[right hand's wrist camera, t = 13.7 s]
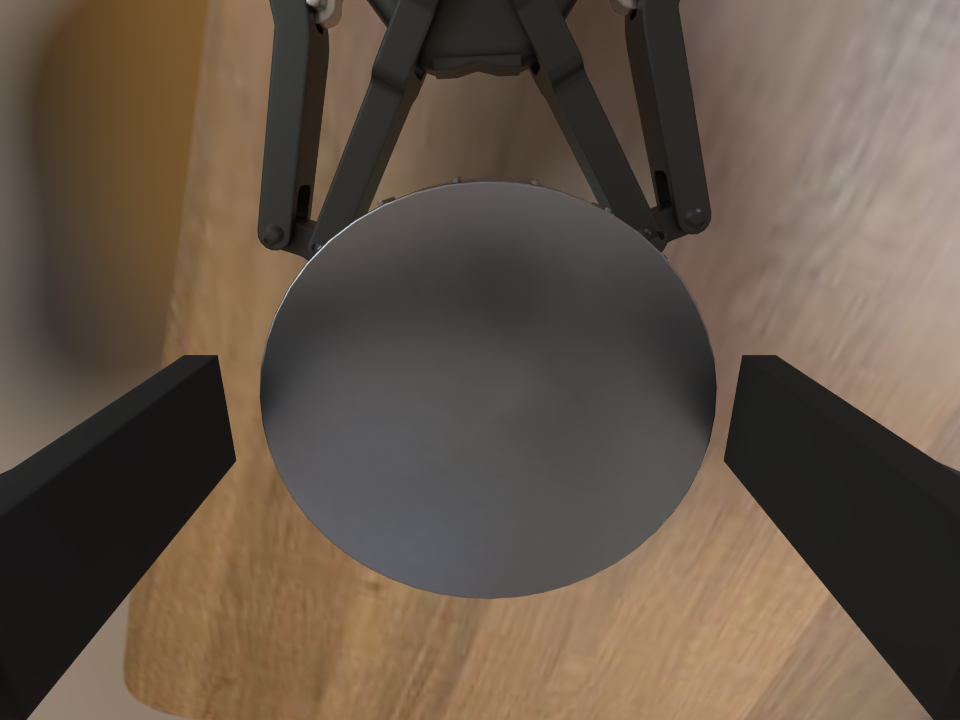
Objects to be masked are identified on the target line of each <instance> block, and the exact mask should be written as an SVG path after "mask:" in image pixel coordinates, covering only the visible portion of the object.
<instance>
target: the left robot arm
mask: <svg viewBox="0 0 960 720" xmlns="http://www.w3.org/2000/svg"><path fill="white" fill-rule="evenodd" d="M269 1H270V6H271V10H272V15H273V19H274V24H275V29H274V41H273V53H272V65H271V77H270V89H269V100H268V112H267V124H266V136H265V148H264V160H263V172H262V183H261V195H260V207H259V219H258V238H259V240H260V242H261V243H262V244H263V245H264V246H265V247H266V248H268V249H271V250H280V249H281V250H284V251H287V252H290V253H293V254H297V255H300V256H302V257H304V258H305V259H307V260H308V261H309V260H310V259H311V258H312V257H313V256H314V255H315V254H316V253H317V252H318V251H319V250H318V247H319V246H321V245H323V244H325V243H326V242H327V241H328V240H330V239H331V238H332V237H333V236H335V235H336V234H337V233H339V232H340V231H341V230H343V229H344V228H345V227H346V226H348V225H349V224H350V223H352V222H353V221H354V220H356V219H358V218H359V217H361V216H363V215H365V214H367V212H368V210H369V208H370V205H371V203H372V200H373V198H374V195H375V193H376V191H377V188H378V186H379V183H380V181H381V178H382V176H383V174H384V171H385V169H386V166H387V164H388V161H389V159H390V157H391V154H392V152H393V149H394V147H395V144H396V142H397V140H398V137H399V135H400V132H401V130H402V127H403V125H404V123H405V120H406V118H407V115H408V113H409V110H410V108H411V106H412V104H413V102H414V101H415V99H416V98H417V96H418V94H419V91H420V89H421V87H422V84H423V82H424V79H425V77H426V74H427V73H428V74H430V75H434V76H436V78H437V79H450V78H459V77H462V76H465V75H468V74H470V73H473V72H476V71H480V72H484V73H488V74H492V75H496V76H517V75H519V74H520V72H522V71H525V70H527V69H528V68H529V70H530V72H531V74H532V76H533V78H534V80H535V82H536V84H537V86H538V88H539V90H540V92H541V93H542V95H543V96H544V97H545V98H546V100H547V102H548V104H549V106H550V108H551V110H552V112H553V114H554V116H555V118H556V120H557V122H558V124H559V126H560V128H561V130H562V132H563V134H564V136H565V138H566V140H567V142H568V144H569V145H570V147H571V149H572V151H573V153H574V155H575V157H576V159H577V161H578V163H579V165H580V167H581V169H582V171H583V173H584V175H585V177H586V179H587V181H588V183H589V185H590V187H591V189H592V191H593V193H594V195H595V197H596V199H597V201H598V203H599V205H602V206H605V207H607V208H609V209H611V211H610V212H609V213H611V214H613V215H614V216H616V217H617V218H619V219H620V220H622V221H623V222H625V223H626V224H628V225H629V226H630V227H632V228H633V229H635V230H636V231H638V232H639V233H640V234H641V235H642V236H643V237H644V238H646V239H647V240H648V241H649V242H650V243H651V244H652V245H653V246H654V247H655V248H656V249H657V250H659V251H660V252H662V251H663V250H664V248H665V247H666V245H667V243H668V242H670V241H672V240H674V239H677V238H679V237H682V236H684V235H687V234H698V233H700V232H702V231H704V230H705V229H706V228H707V226H708V225H709V223H710V220H711V209H710V202H709V196H708V190H707V184H706V177H705V171H704V165H703V159H702V152H701V146H700V140H699V133H698V127H697V121H696V115H695V108H694V102H693V96H692V90H691V83H690V77H689V71H688V65H687V58H686V52H685V46H684V39H683V33H682V27H681V21H680V14H679V8H678V6H679V0H610V4H611V6H612V8H613V9H614V11H615V12H617V13H619V14H621V15H625V37H626V44H627V51H628V56H629V61H630V67H631V72H632V77H633V82H634V88H635V93H636V98H637V103H638V109H639V114H640V119H641V124H642V129H643V135H644V140H645V145H646V150H647V156H648V161H649V166H650V171H651V177H652V182H653V187H654V192H655V198H656V203H657V206H656V207H653V208H651V209H650V207H649V205H648V203H647V201H646V199H645V197H644V195H643V193H642V190H641V188H640V186H639V184H638V182H637V180H636V178H635V176H634V174H633V171H632V169H631V167H630V165H629V163H628V161H627V159H626V157H625V155H624V153H623V150H622V148H621V146H620V144H619V142H618V140H617V138H616V136H615V134H614V132H613V129H612V127H611V125H610V123H609V121H608V119H607V117H606V115H605V113H604V110H603V108H602V106H601V104H600V102H599V100H598V98H597V96H596V94H595V92H594V89H593V87H592V85H591V83H590V81H589V79H588V77H587V75H586V72H585V69H584V64H583V60H582V57H581V54H580V52H579V50H578V48H577V46H576V44H575V41H574V39H573V37H572V35H571V33H570V31H569V29H568V27H567V24H566V22H565V19H566V17H567V16H568V14H569V13H570V11H571V9H572V8H573V6H574V5H575V3H576V1H577V0H367V1H368V2H369V4H370V5H371V7H372V8H373V9H374V11H375V12H376V13H377V15H378V16H379V17H380V19H381V20H382V21H383V23H384V24H385V26H386V27H387V30H386V33H385V35H384V38H383V40H382V43H381V46H380V48H379V51H378V54H377V56H376V59H375V62H374V65H373V69H372V76H371V81H370V84H369V87H368V90H367V92H366V95H365V97H364V100H363V103H362V105H361V108H360V110H359V113H358V116H357V118H356V121H355V124H354V126H353V129H352V131H351V134H350V137H349V139H348V142H347V144H346V147H345V150H344V152H343V155H342V157H341V160H340V163H339V165H338V168H337V170H336V173H335V176H334V178H333V181H332V183H331V186H330V189H329V191H328V194H327V197H326V199H325V202H324V204H323V207H322V210H321V212H320V215H319V217H318V220H317V222H316V221H313V220H310V217H311V208H312V200H313V191H314V183H315V174H316V165H317V157H318V148H319V139H320V131H321V122H322V113H323V105H324V96H325V87H326V79H327V70H328V60H329V35H328V28H332V27H334V26H335V25H337V24H338V22H339V21H340V19H341V16H342V3H343V0H269Z"/></svg>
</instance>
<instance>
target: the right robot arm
mask: <svg viewBox="0 0 960 720" xmlns="http://www.w3.org/2000/svg"><path fill="white" fill-rule="evenodd" d="M235 462H236V456H235V451H234V445H233V439H232V434H231V428H230V422H229V417H228V411H227V405H226V400H225V394H224V388H223V383H222V377H221V371H220V366H219V360H218V355H184V356H182V357H181V358H179V359H178V360H176V361H175V362H173V363H172V364H170V365H169V366H167V367H166V368H164V369H163V370H161V371H160V372H158V373H157V374H155V375H154V376H152V377H150V378H149V379H147V380H146V381H145V382H143V383H141V384H140V385H138V386H137V387H135V388H134V389H132V390H131V391H129V392H128V393H126V394H125V395H123V396H122V397H120V398H119V399H117V400H116V401H114V402H113V403H111V404H110V405H108V406H107V407H105V408H104V409H102V410H101V411H99V412H98V413H96V414H94V415H93V416H91V417H90V418H88V419H87V420H86V421H84V422H82V423H81V424H79V425H78V426H76V427H75V428H73V429H72V430H70V431H69V432H67V433H66V434H64V435H63V436H61V437H60V438H58V439H57V440H55V441H54V442H52V443H51V444H49V445H48V446H46V447H45V448H43V449H42V450H40V451H39V452H37V453H35V454H34V455H32V456H31V457H29V458H28V459H26V460H25V461H23V462H22V463H20V464H19V465H17V466H16V467H14V468H13V469H11V470H9V471H6V472H4V473H2V474H0V720H27V718H28V717H29V716H30V715H31V713H32V712H33V711H34V710H35V709H36V707H37V706H38V705H39V704H40V702H41V701H42V700H43V699H44V697H45V696H46V695H47V694H48V692H49V691H50V690H51V689H52V687H53V686H54V685H55V684H56V683H57V681H58V680H59V679H60V678H61V676H62V675H63V674H64V673H65V672H66V670H67V669H68V668H69V667H70V665H71V664H72V663H73V662H74V660H75V659H76V658H77V657H78V655H79V654H80V653H81V652H82V650H83V649H84V648H85V647H86V646H87V644H88V643H89V642H90V641H91V639H92V638H93V637H94V636H95V634H96V633H97V632H98V631H99V630H100V628H101V627H102V626H103V625H104V623H105V622H106V621H107V620H108V618H109V617H110V616H111V615H112V613H113V612H114V611H115V610H116V608H117V607H118V606H119V605H120V604H121V602H122V601H123V600H124V599H125V597H126V596H127V595H128V594H129V592H130V591H131V590H132V589H133V588H134V586H135V585H136V584H137V583H138V581H139V580H140V579H141V578H142V576H143V575H144V574H145V573H146V572H147V570H148V569H149V568H150V567H151V565H152V564H153V563H154V562H155V560H156V559H157V558H158V557H159V555H160V554H161V553H162V552H163V551H164V549H165V548H166V547H167V546H168V544H169V543H170V542H171V541H172V539H173V538H174V537H175V536H176V534H177V533H178V532H179V531H180V530H181V528H182V527H183V526H184V525H185V523H186V522H187V521H188V520H189V518H190V517H191V516H192V515H193V513H194V512H195V511H196V510H197V509H198V507H199V506H200V505H201V504H202V502H203V501H204V500H205V499H206V497H207V496H208V495H209V494H210V492H211V491H212V490H213V489H214V488H215V486H216V485H217V484H218V483H219V481H220V480H221V479H222V478H223V476H224V475H225V474H226V473H227V471H228V470H229V469H230V468H231V467H232V465H233V464H234V463H235ZM724 462H725V463H726V464H727V465H728V467H729V468H730V469H731V470H732V472H733V473H734V474H735V475H736V476H737V478H738V479H739V480H740V481H741V483H742V484H743V485H744V486H745V488H746V489H747V490H748V491H749V492H750V494H751V495H752V496H753V497H754V499H755V500H756V501H757V502H758V504H759V505H760V506H761V507H762V509H763V510H764V511H765V512H766V513H767V515H768V516H769V517H770V518H771V520H772V521H773V522H774V523H775V525H776V526H777V527H778V528H779V530H780V531H781V532H782V533H783V534H784V536H785V537H786V538H787V539H788V541H789V542H790V543H791V544H792V546H793V547H794V548H795V549H796V551H797V552H798V553H799V554H800V555H801V557H802V558H803V559H804V560H805V562H806V563H807V564H808V565H809V567H810V568H811V569H812V570H813V572H814V573H815V574H816V575H817V576H818V578H819V579H820V580H821V581H822V583H823V584H824V585H825V586H826V588H827V589H828V590H829V591H830V592H831V594H832V595H833V596H834V597H835V599H836V600H837V601H838V602H839V604H840V605H841V606H842V607H843V609H844V610H845V611H846V612H847V613H848V615H849V616H850V617H851V618H852V620H853V621H854V622H855V623H856V625H857V626H858V627H859V628H860V630H861V631H862V632H863V633H864V634H865V636H866V637H867V638H868V639H869V641H870V642H871V643H872V644H873V646H874V647H875V648H876V649H877V651H878V652H879V653H880V654H881V655H882V657H883V658H884V659H885V660H886V662H887V663H888V664H889V665H890V667H891V668H892V669H893V670H894V672H895V673H896V674H897V675H898V676H899V678H900V679H901V680H902V681H903V683H904V684H905V685H906V686H907V688H908V689H909V690H910V691H911V692H912V694H913V695H914V696H915V697H916V699H917V700H918V701H919V702H920V704H921V705H922V706H923V707H924V709H925V710H926V711H927V712H928V713H929V715H930V716H931V717H932V718H933V720H960V472H959V471H957V470H955V469H952V468H950V467H948V466H946V465H943V464H941V463H939V462H937V461H935V460H934V459H932V458H931V457H929V456H928V455H926V454H925V453H923V452H921V451H920V450H918V449H917V448H915V447H914V446H912V445H911V444H909V443H908V442H906V441H905V440H903V439H902V438H900V437H899V436H897V435H896V434H894V433H893V432H891V431H890V430H888V429H887V428H885V427H884V426H882V425H881V424H879V423H878V422H876V421H875V420H873V419H872V418H870V417H869V416H867V415H866V414H864V413H862V412H861V411H859V410H858V409H856V408H855V407H853V406H852V405H850V404H849V403H847V402H846V401H844V400H843V399H841V398H840V397H838V396H837V395H835V394H834V393H832V392H831V391H829V390H828V389H826V388H825V387H823V386H822V385H820V384H819V383H817V382H816V381H814V380H813V379H811V378H810V377H808V376H806V375H805V374H803V373H802V372H800V371H799V370H797V369H796V368H794V367H793V366H791V365H790V364H788V363H787V362H785V361H784V360H782V359H781V358H779V357H778V356H776V355H742V360H741V366H740V371H739V377H738V383H737V388H736V394H735V400H734V405H733V411H732V417H731V422H730V428H729V434H728V439H727V445H726V451H725V456H724Z"/></svg>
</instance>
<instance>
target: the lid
mask: <svg viewBox="0 0 960 720" xmlns="http://www.w3.org/2000/svg"><path fill="white" fill-rule="evenodd" d="M537 183H538V181H536V180H533V179H528V178H527V180H526V182H522V181H517V180H511V179H489V178H479V179H469V180H461V176H460V177H455V178H453V181H451V182H447V183H443V184H439V185H435V186H430V187H426V188H423V189H421V190H418V191H416V192H413V193H410V194H408V195H405V196H403V197H400V198H398V199H395V198H394V197H391V198H388V199H386V200H383V201H380V202H378V205H379V207H377V208H375V209H374V210H372V211H370V212H368V213H367V214H365V215H363V216H361V217H359V218H358V219H356V220H354V221H353V222H352V223H350V224H349V225H348V226H346V227H345V228H344V229H343V230H341V231H340V232H339V233H337V234H336V235H335V236H333V237H332V238H331V239H330V240H328V241H327V242H326V243H325V244H323V245H321V246H319V247H318V250H319V251H318V252H317V253H316V254H315V255H314V256H313V257H312V258H311V259H310V260H309V261H308V262H307V263H306V265H305V266H304V267H303V269H302V270H301V272H300V273H299V274H298V276H297V277H296V278H295V280H294V281H293V283H292V284H291V285H290V287H289V288H288V290H287V292H286V294H285V296H284V298H283V300H282V302H281V304H280V306H279V308H278V310H277V312H276V313H275V316H274V319H273V322H272V325H271V328H270V331H269V334H268V337H267V340H266V344H265V349H264V355H263V360H262V365H261V378H260V403H261V413H262V422H263V427H264V431H265V435H266V439H267V443H268V447H269V451H270V453H271V456H272V458H273V461H274V463H275V466H276V468H277V471H278V473H279V475H280V477H281V479H282V480H283V482H284V484H285V486H286V488H287V489H288V491H289V493H290V495H291V496H292V498H293V499H294V501H295V502H296V503H297V505H298V506H299V507H300V509H301V510H302V511H303V513H304V514H305V515H306V517H307V518H308V519H309V520H310V521H311V522H312V523H313V524H314V525H315V526H316V527H317V529H318V530H319V531H320V532H321V533H322V534H323V535H324V536H325V537H326V538H328V539H329V540H330V541H331V542H332V543H334V544H335V545H336V546H337V547H338V548H340V549H341V550H342V551H343V552H345V553H346V554H347V555H349V556H350V557H352V558H354V559H355V560H357V561H358V562H360V563H361V564H363V565H364V566H366V567H368V568H370V569H372V570H374V571H376V572H378V573H380V574H382V575H384V576H386V577H388V578H390V579H392V580H395V581H398V582H400V583H403V584H406V585H408V586H411V587H414V588H417V589H421V590H425V591H429V592H433V593H437V594H442V595H449V596H456V597H463V598H484V599H496V598H511V597H521V596H526V595H532V594H538V593H543V592H547V591H550V590H554V589H558V588H561V587H565V586H568V585H571V584H573V583H575V582H578V581H580V580H583V579H585V578H588V577H590V576H593V575H595V574H596V573H598V572H600V571H602V570H604V569H606V568H608V567H609V566H611V565H613V564H615V563H616V562H618V561H619V560H621V559H622V558H624V557H625V556H627V555H628V554H629V553H631V552H632V551H634V550H635V549H637V548H638V547H639V546H640V545H641V544H642V543H643V542H645V541H646V540H647V539H648V538H649V537H650V536H651V535H653V534H654V533H655V532H656V531H657V530H658V529H659V528H660V526H661V525H662V524H663V523H664V522H665V521H666V520H667V519H668V517H669V516H670V515H671V514H672V513H673V512H674V510H675V509H676V508H677V506H678V505H679V503H680V502H681V500H682V499H683V497H684V496H685V494H686V493H687V492H688V490H689V488H690V486H691V484H692V482H693V480H694V478H695V476H696V475H697V473H698V471H699V469H700V467H701V464H702V461H703V458H704V456H705V453H706V450H707V447H708V444H709V441H710V437H711V432H712V427H713V422H714V417H715V406H716V389H717V385H716V374H715V362H714V356H713V352H712V347H711V343H710V339H709V335H708V331H707V328H706V326H705V323H704V321H703V318H702V316H701V313H700V311H699V308H698V306H697V303H696V302H695V300H694V298H693V297H692V295H691V293H690V292H689V290H688V288H687V286H686V285H685V283H684V281H683V280H682V278H681V277H680V275H679V274H678V273H677V272H676V270H675V269H674V268H673V267H672V265H671V264H670V263H669V262H668V261H667V259H668V258H667V257H666V256H665V255H663V254H662V253H661V252H660V251H659V250H657V249H656V248H655V247H654V246H653V245H652V244H651V243H650V242H649V241H648V240H647V239H646V238H644V237H643V236H642V235H641V234H640V233H639V232H638V231H636V230H635V229H633V228H632V227H630V226H629V225H628V224H626V223H625V222H623V221H622V220H620V219H619V218H617V217H616V216H614V215H613V214H611V213H609V212H610V211H611V209H609V208H607V207H605V206H602V205H599V204H596V203H593V202H592V204H591V203H589V202H587V201H585V200H583V199H581V198H578V197H575V196H572V195H569V194H566V193H563V192H560V191H557V190H554V189H551V188H548V187H545V186H542V185H539V184H537Z"/></svg>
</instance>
